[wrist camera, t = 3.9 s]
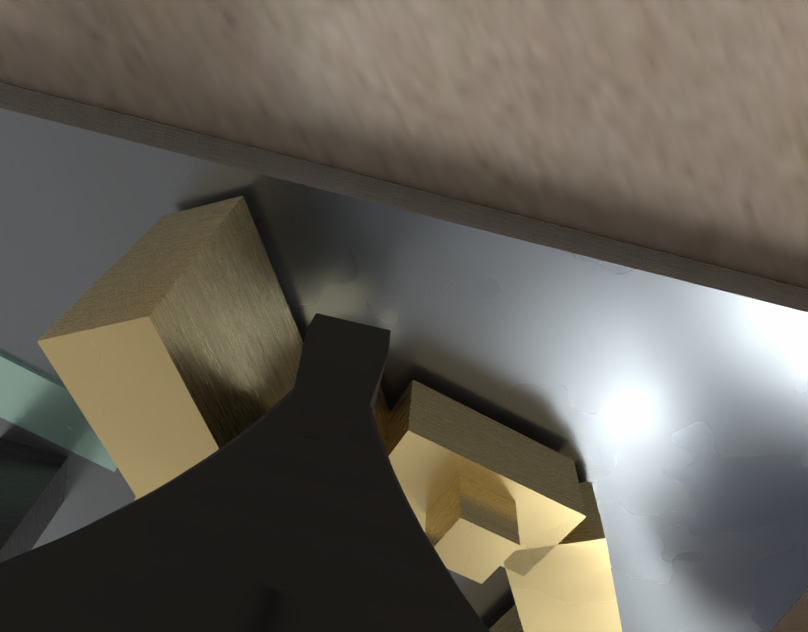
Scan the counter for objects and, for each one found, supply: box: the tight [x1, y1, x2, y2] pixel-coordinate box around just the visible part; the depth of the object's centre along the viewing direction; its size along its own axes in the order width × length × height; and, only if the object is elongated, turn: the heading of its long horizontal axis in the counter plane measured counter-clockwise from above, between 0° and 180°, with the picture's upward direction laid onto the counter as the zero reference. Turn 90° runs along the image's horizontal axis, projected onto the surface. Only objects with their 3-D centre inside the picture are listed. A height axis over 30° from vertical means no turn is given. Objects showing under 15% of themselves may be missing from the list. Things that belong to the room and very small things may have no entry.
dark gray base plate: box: [0, 82, 808, 632], centre depth 15 cm, size 20×18×4 cm
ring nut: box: [37, 196, 622, 632], centre depth 13 cm, size 15×11×4 cm
